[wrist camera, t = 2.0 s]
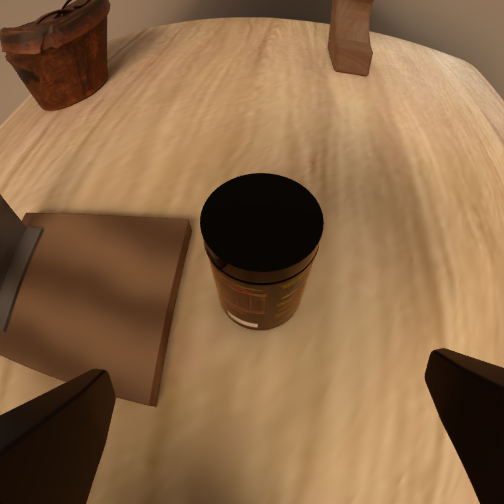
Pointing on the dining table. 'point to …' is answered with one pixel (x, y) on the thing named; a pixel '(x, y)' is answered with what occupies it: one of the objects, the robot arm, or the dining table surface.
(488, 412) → the robot arm
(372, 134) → the dining table surface
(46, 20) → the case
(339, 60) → the decorative block
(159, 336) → the shelf board
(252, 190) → the supplement container
